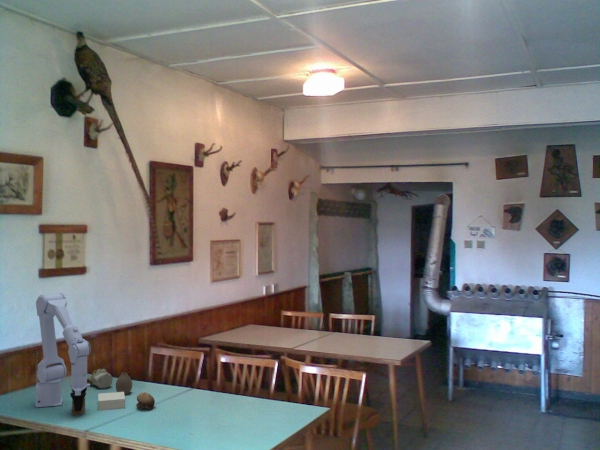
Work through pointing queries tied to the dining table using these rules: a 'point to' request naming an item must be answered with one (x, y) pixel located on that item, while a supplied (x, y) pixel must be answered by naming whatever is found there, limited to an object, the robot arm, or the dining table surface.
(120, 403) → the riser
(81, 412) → the walnut block
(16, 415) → the dining table surface
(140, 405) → the mushroom
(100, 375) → the ceramic sculpture
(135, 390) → the dining table surface
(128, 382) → the vase
